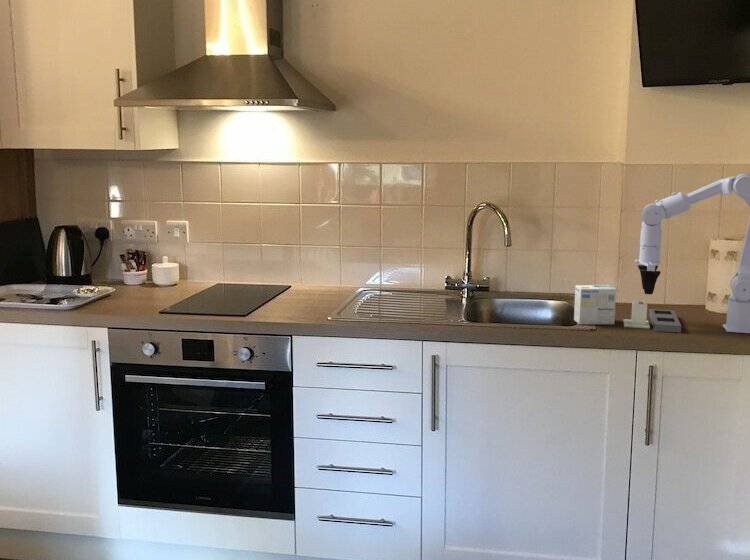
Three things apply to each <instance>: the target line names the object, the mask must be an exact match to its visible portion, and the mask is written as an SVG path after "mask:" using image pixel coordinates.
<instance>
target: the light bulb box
mask: <svg viewBox="0 0 750 560" xmlns="http://www.w3.org/2000/svg"><path fill="white" fill-rule="evenodd" d="M616 298H617V288H616V287H613V286H612V285H610V284H591V285H589V284H586V285H585V284H584V285H582V284H580V285H578V284H576V285H574V309H573V311H574V313H573V320H574V322H576V323H577V324H578V325H615V319H616V318H615V317H616V303H617V299H616Z"/></svg>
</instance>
